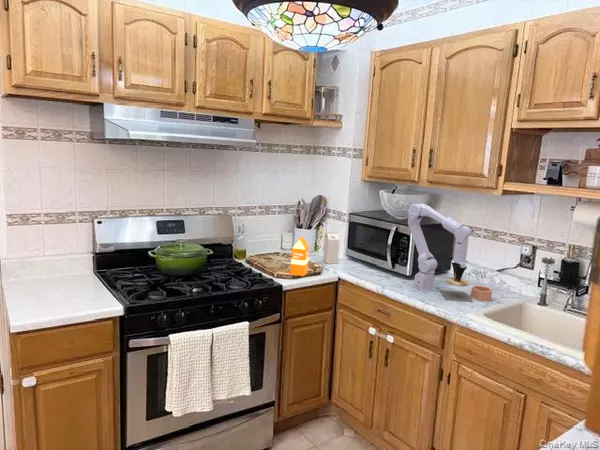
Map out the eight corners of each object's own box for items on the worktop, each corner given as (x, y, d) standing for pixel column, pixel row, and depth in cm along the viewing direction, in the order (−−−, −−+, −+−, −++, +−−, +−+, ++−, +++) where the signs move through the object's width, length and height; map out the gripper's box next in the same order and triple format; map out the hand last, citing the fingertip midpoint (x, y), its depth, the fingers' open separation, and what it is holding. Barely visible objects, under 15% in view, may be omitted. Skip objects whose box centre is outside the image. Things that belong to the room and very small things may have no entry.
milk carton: (323, 261, 275) (325, 230, 272) (334, 260, 277) (336, 230, 273) (326, 264, 268) (328, 233, 265) (337, 263, 270) (340, 233, 267)
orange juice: (290, 274, 242) (292, 238, 239) (294, 270, 251) (296, 235, 247) (304, 276, 240) (306, 239, 237) (307, 271, 249) (310, 236, 246)
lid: (458, 287, 211) (459, 277, 210) (440, 280, 220) (441, 271, 219) (473, 284, 216) (475, 274, 215) (455, 278, 225) (456, 268, 225)
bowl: (482, 302, 212) (483, 292, 211) (467, 296, 220) (468, 287, 219) (494, 300, 217) (496, 290, 216) (479, 294, 224) (480, 285, 223)
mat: (445, 300, 212) (445, 300, 212) (438, 290, 228) (438, 289, 228) (473, 303, 211) (473, 302, 211) (464, 292, 227) (464, 291, 226)
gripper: (473, 255, 208) (470, 283, 210) (465, 248, 222) (461, 274, 224) (458, 254, 208) (454, 282, 211) (450, 247, 223) (447, 273, 225)
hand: (457, 278), depth 218 cm, fingers closed on lid, 3 cm apart
